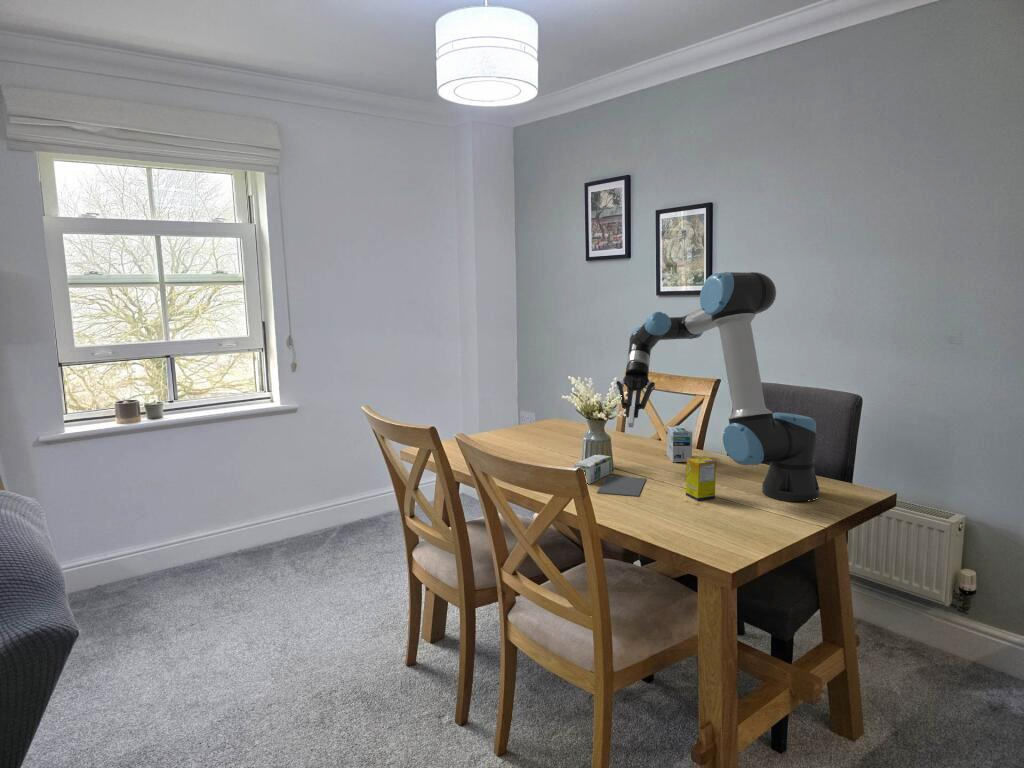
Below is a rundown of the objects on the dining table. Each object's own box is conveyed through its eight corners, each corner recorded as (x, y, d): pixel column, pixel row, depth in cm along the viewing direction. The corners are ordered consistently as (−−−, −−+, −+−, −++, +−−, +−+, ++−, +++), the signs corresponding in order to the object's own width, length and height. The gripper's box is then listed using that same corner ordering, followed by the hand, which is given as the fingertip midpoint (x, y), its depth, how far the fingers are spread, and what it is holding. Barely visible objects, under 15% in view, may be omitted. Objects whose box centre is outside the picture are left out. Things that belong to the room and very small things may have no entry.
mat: (607, 476, 214) (607, 475, 213) (646, 479, 210) (646, 478, 210) (596, 493, 197) (596, 492, 197) (638, 496, 193) (638, 495, 193)
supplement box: (702, 492, 196) (703, 455, 195) (715, 498, 191) (716, 460, 189) (684, 495, 194) (685, 457, 193) (697, 501, 189) (699, 463, 187)
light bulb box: (692, 463, 228) (693, 431, 227) (672, 463, 229) (673, 431, 227) (684, 455, 239) (685, 425, 237) (665, 455, 239) (666, 425, 238)
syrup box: (611, 473, 217) (589, 484, 205) (595, 470, 220) (572, 481, 208) (612, 456, 216) (590, 466, 204) (595, 453, 219) (573, 463, 207)
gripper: (657, 374, 231) (652, 432, 218) (619, 373, 235) (611, 430, 222) (656, 360, 226) (650, 419, 212) (617, 359, 229) (609, 417, 216)
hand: (630, 425), depth 217 cm, fingers closed
